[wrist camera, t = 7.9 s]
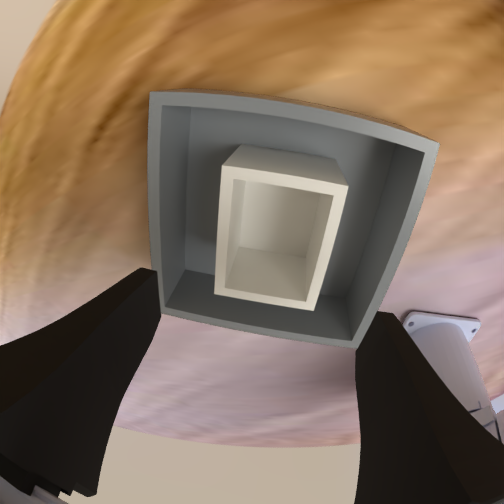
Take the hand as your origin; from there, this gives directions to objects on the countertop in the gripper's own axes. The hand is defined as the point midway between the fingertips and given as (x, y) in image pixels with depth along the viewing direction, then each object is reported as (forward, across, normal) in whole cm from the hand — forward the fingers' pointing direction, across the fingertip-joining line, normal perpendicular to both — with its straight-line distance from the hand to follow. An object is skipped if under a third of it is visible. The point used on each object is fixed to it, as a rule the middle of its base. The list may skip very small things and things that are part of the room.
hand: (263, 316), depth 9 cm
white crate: (+9, 0, 0) cm, 9 cm away
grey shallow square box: (+9, 0, 0) cm, 9 cm away
